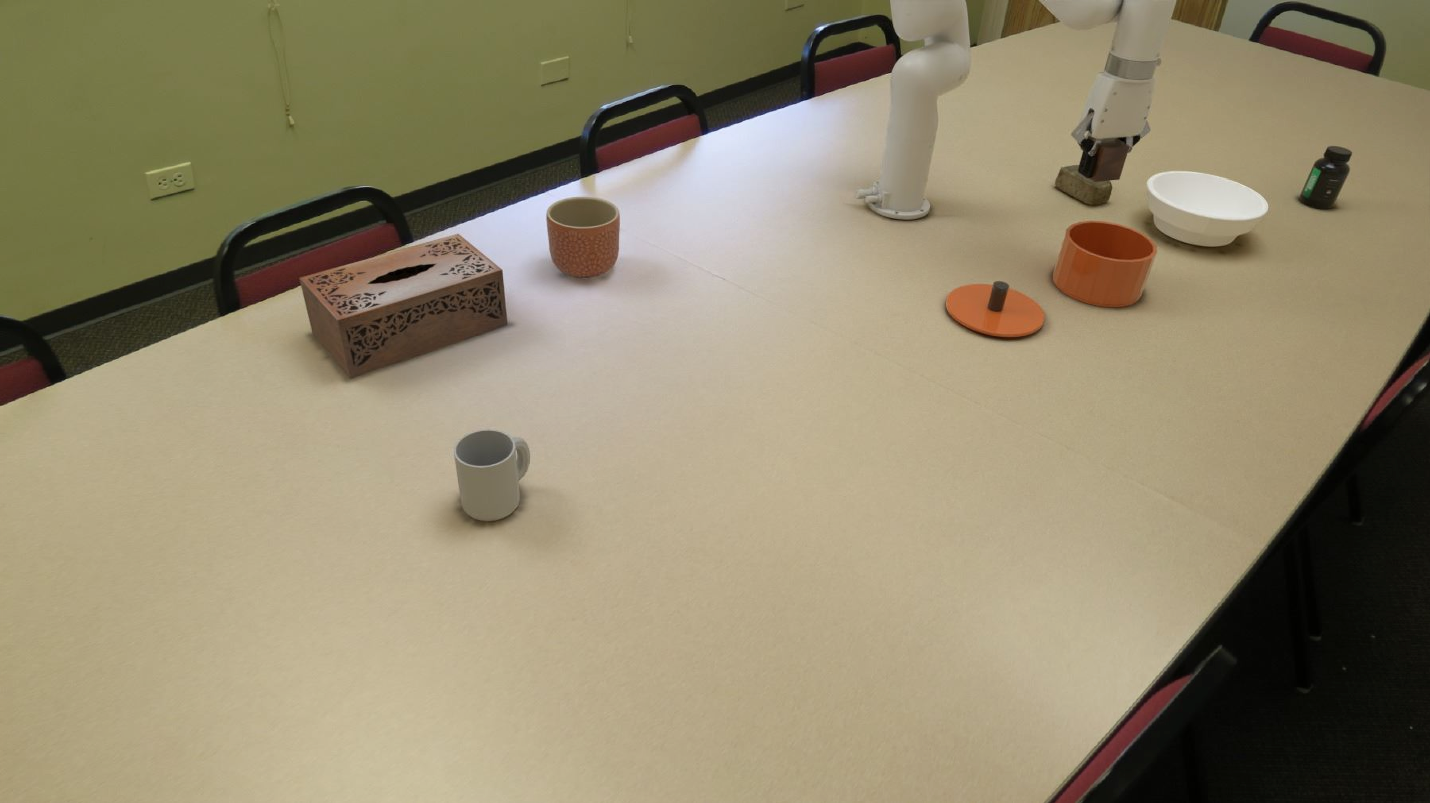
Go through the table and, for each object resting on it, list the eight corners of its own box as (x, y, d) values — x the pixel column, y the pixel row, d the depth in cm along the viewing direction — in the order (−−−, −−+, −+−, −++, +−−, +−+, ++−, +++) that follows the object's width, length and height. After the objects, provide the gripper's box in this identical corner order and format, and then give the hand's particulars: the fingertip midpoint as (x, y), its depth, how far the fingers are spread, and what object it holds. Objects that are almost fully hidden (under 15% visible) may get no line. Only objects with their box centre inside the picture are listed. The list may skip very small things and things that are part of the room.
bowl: (1246, 220, 199) (1262, 182, 194) (1258, 268, 182) (1275, 228, 177) (1133, 200, 204) (1146, 163, 199) (1134, 245, 187) (1148, 205, 182)
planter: (632, 262, 171) (632, 206, 165) (597, 293, 162) (595, 234, 155) (573, 246, 175) (571, 190, 169) (535, 274, 166) (531, 217, 159)
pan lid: (974, 345, 155) (982, 315, 151) (928, 294, 167) (934, 266, 164) (1061, 334, 159) (1071, 304, 156) (1010, 285, 171) (1018, 257, 168)
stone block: (1090, 208, 200) (1097, 186, 197) (1050, 187, 208) (1056, 165, 205) (1110, 204, 202) (1117, 181, 199) (1070, 183, 210) (1076, 161, 207)
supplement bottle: (1299, 205, 206) (1323, 152, 199) (1297, 193, 212) (1320, 141, 204) (1334, 212, 205) (1360, 158, 197) (1331, 200, 210) (1355, 147, 203)
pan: (1084, 311, 165) (1099, 265, 160) (1036, 268, 177) (1048, 224, 172) (1158, 302, 169) (1176, 257, 164) (1107, 261, 181) (1121, 217, 176)
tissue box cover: (350, 378, 139) (337, 320, 133) (312, 334, 148) (299, 277, 142) (507, 325, 153) (502, 269, 147) (464, 287, 161) (458, 233, 155)
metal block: (1094, 182, 162) (1104, 148, 158) (1077, 170, 166) (1086, 137, 162) (1119, 179, 163) (1129, 146, 160) (1102, 168, 167) (1111, 135, 163)
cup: (449, 503, 119) (441, 448, 114) (512, 465, 126) (507, 411, 120) (486, 531, 116) (479, 476, 110) (549, 491, 122) (545, 437, 117)
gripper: (1159, 57, 159) (1127, 161, 169) (1071, 62, 154) (1043, 169, 165) (1190, 71, 153) (1154, 178, 164) (1098, 77, 148) (1068, 186, 159)
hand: (1099, 172), depth 164 cm, fingers closed on metal block, 5 cm apart
